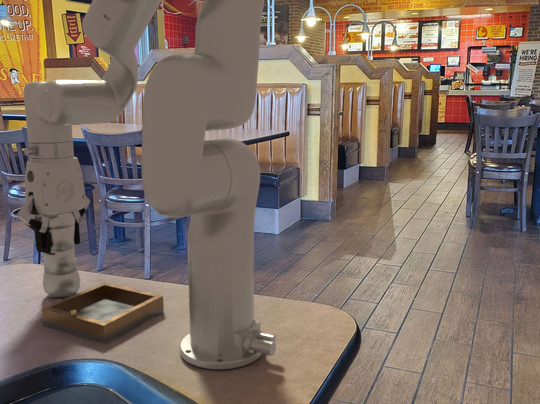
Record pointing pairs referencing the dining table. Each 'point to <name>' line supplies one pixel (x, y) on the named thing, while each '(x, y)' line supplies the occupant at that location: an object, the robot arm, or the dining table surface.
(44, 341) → the dining table surface
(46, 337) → the dining table surface
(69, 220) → the plastic bottle
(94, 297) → the collar base
